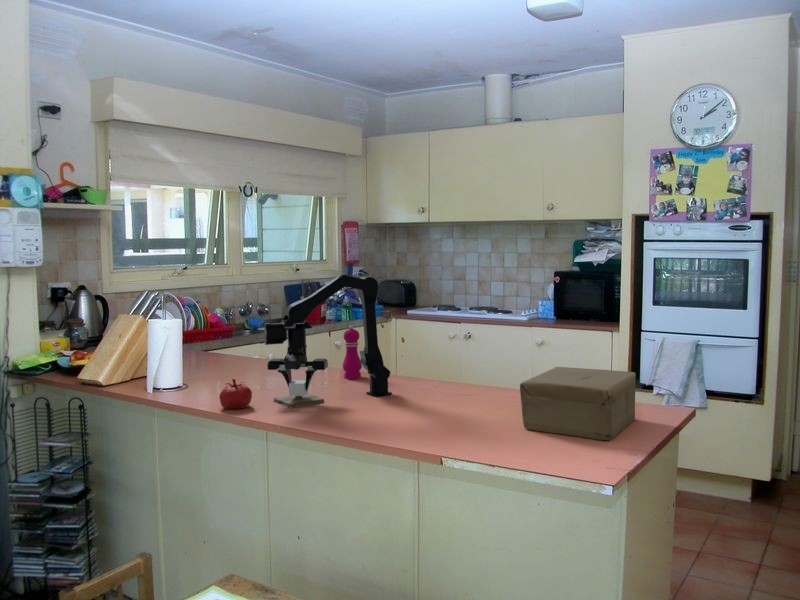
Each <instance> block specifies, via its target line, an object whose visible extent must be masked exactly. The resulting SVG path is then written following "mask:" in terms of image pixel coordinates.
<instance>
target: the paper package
mask: <svg viewBox="0 0 800 600" xmlns="http://www.w3.org/2000/svg"><path fill="white" fill-rule="evenodd" d="M636 375H637V373H636V372H634V371H625V370H624V371H622V370H612V369H595V368H584V367H583V368H582V367H579V368H578V367H568V366H567V367H566V366H565V367H564V366H556V367H554V368H551V369H549V370H547V371H545V372H542V373H540V374H538V375H536V376H533V377H531V378H528V379H527V380H524V381H522V382H521V383H520V384H519V392H520V405H521V413H522V414H521V415H522V421H523V423H522V424H523V428H524V429H526V430H532V431H537V432H543V433H551V434H558V435H564V436H573V437H578V438H579V437H581V438H587V439H593V440H600V441H611V440H612V439H613V438H614V437H615V436H617V435H618V434H619V433H620V432H622V431H623V430H624V429H625V428H626V427H628V426H629V425H630V424H631V423H632V422H634V420H636V384H637V383H636V381H637V379H636V378H637V377H636Z"/></svg>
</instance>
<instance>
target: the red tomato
mask: <svg viewBox="0 0 800 600" xmlns="http://www.w3.org/2000/svg"><path fill="white" fill-rule="evenodd" d="M231 380H232V383H230V382H227V383H226V386H225V387H224V388H223V389H222V390H221V392H220V393H219V397H218V398H219V401H220V405H221V407H222V408H223V409H225V410H239V409H240V410H241V408H242V409H244V408H247V407H248V406H249V405H250V403H251V401H252V398H253V391H252V390H251V388H250V387H248V386H247V385H246V384H244V383H245V382H239V383H236V378H232V379H231Z"/></svg>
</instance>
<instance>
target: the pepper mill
mask: <svg viewBox="0 0 800 600" xmlns="http://www.w3.org/2000/svg"><path fill="white" fill-rule="evenodd" d="M343 339H344V341H345V342H344V344H345V345H344V346H345V348H346V349H345V352H346V353H345V357H344V360H343V361H342V369H343V370H344V373H343V376H344V379H346V380H355V379H356V380H358V379H360V378H362V377H361V375H362V373H361V372H360V371H361V370H362V367H363V365H362V363H360V360H361V357H360V355H359V353H358V346H359V339H360V332H359V331H358V330H357V329H354V325H353V324H350V325H349V326H348V329H346V330H345V331H344V332H343Z"/></svg>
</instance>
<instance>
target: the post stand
mask: <svg viewBox="0 0 800 600" xmlns="http://www.w3.org/2000/svg"><path fill="white" fill-rule="evenodd" d="M273 401H274V402H275V401H276V402H275V403H277V402H279V403H278V404H280V403H281V404H280V405H282V404H284V405H283V406H285V405H286V407H287V406H288V407H287V408H290V407H293V408H298V407H297V406H299V407H304V405H305V406H310V405H315V404H321V403H324V402H325V398H322V397H319V396H316V395H313V394H311V393H309V392H308V393H307V394H306V395H305V396H289V395H285V396H278V397H273Z"/></svg>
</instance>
